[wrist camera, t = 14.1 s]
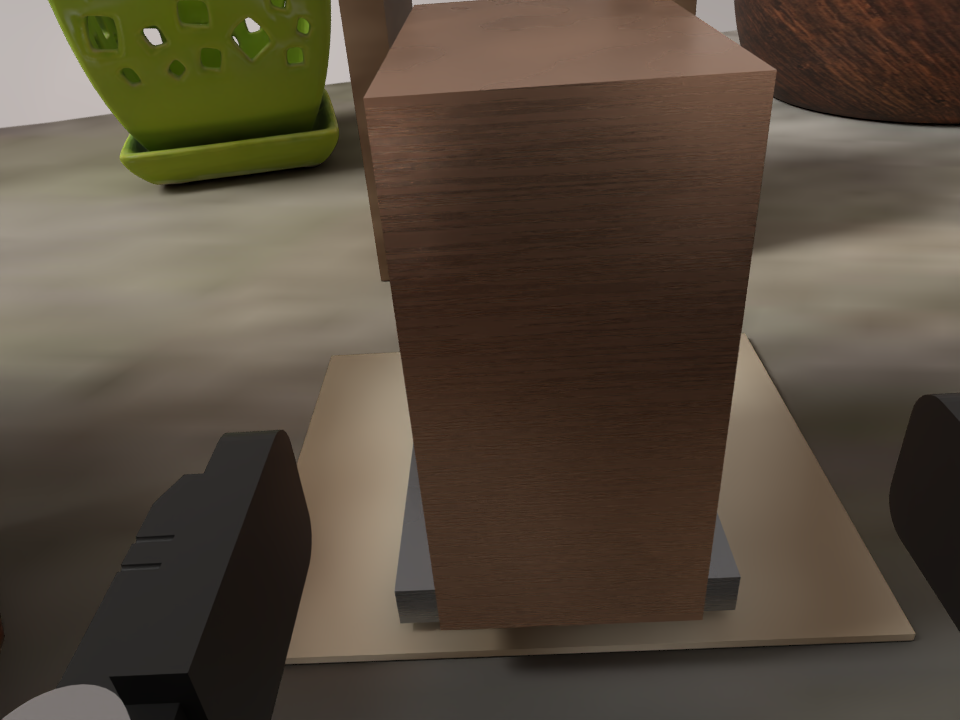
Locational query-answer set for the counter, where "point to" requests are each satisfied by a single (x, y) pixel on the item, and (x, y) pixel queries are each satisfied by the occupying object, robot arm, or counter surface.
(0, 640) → the food container
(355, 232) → the counter surface
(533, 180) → the tall wood-grain block
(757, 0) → the wooden bowl
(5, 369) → the counter surface
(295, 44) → the flower pot
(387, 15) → the tunnel
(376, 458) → the pad
